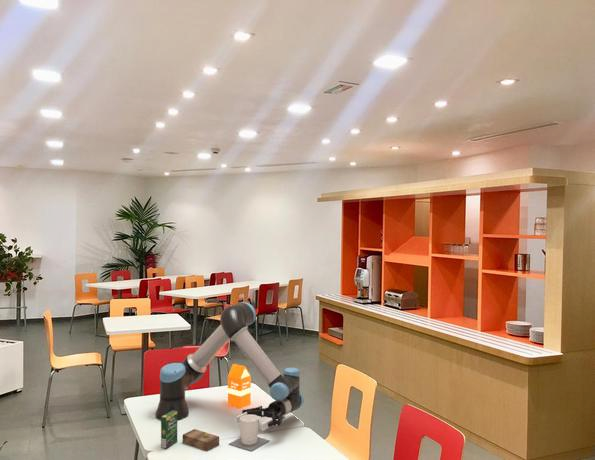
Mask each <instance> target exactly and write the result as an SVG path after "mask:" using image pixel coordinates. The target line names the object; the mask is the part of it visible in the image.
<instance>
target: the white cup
mask: <svg viewBox="0 0 595 460" xmlns="http://www.w3.org/2000/svg"><path fill="white" fill-rule="evenodd" d="M259 419H260V416H257V415H251V414H249V415H243V416H241V417H240V422H239V428H240V429H239V430H240V437H241V443H242V444H245V445H253V444H255V443H257V439H258V437H259V436H258V435H259V424H260V423H259Z"/></svg>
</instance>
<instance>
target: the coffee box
mask: <svg viewBox="0 0 595 460" xmlns="http://www.w3.org/2000/svg"><path fill="white" fill-rule="evenodd" d="M160 432H161V433H160V447H161V449H163V448H164V450H167V449H169V448H170V447H171V446H173V445H174V444H176V443H177V442H178V420H177V411H174V410H172V411H170V412H169V413H167V414H165V415H164V416H162V417H161V420H160Z"/></svg>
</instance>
